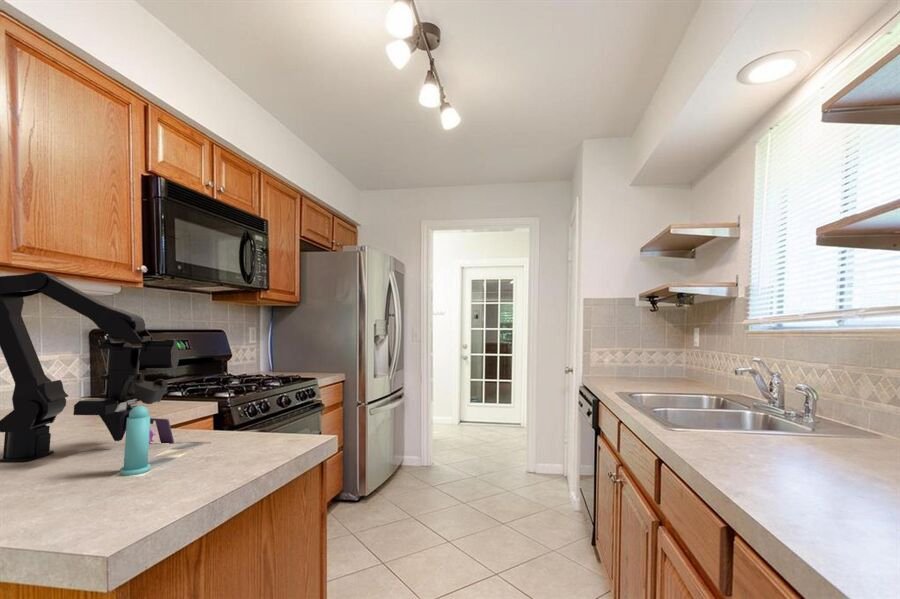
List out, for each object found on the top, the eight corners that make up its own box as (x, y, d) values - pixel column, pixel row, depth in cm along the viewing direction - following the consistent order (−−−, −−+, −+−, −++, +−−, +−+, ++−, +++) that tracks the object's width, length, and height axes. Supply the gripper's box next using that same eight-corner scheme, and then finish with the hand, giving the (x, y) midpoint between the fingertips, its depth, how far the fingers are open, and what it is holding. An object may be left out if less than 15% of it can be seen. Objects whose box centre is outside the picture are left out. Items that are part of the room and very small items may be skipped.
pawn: (113, 475, 77) (118, 408, 78) (131, 467, 81) (135, 403, 82) (139, 475, 77) (144, 407, 78) (155, 467, 82) (159, 403, 83)
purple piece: (171, 417, 100) (137, 415, 102) (153, 429, 95) (118, 427, 97) (177, 442, 102) (144, 440, 103) (159, 455, 97) (125, 453, 98)
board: (90, 483, 75) (90, 479, 75) (176, 444, 101) (176, 441, 101) (137, 483, 75) (137, 478, 75) (210, 444, 101) (210, 441, 101)
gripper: (131, 374, 86) (125, 452, 85) (183, 366, 105) (180, 430, 104) (74, 373, 86) (68, 452, 85) (137, 366, 105) (133, 430, 103)
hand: (118, 440), depth 94 cm, fingers closed
